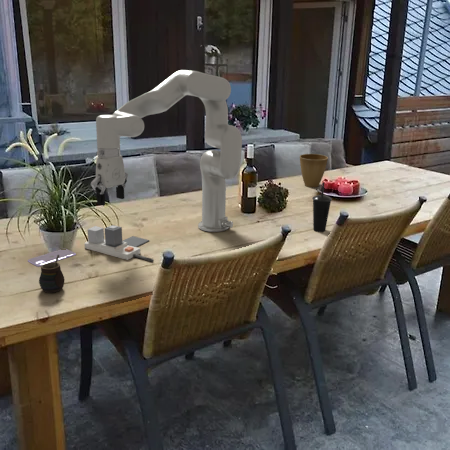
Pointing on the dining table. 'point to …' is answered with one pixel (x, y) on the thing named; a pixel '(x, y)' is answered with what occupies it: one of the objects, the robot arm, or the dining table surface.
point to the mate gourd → (51, 277)
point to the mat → (135, 241)
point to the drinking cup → (320, 211)
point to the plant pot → (312, 168)
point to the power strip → (121, 251)
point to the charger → (113, 236)
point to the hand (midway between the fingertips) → (110, 201)
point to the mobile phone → (51, 257)
